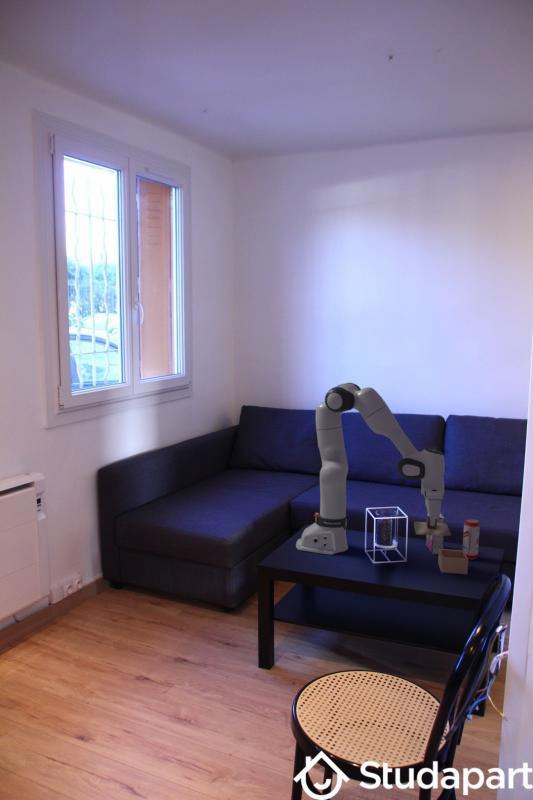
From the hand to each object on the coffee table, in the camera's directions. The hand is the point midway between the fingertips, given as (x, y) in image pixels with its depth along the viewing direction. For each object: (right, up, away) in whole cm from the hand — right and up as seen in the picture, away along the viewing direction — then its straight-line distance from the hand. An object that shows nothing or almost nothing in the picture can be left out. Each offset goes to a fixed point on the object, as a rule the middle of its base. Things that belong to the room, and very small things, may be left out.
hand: (431, 523), depth 251 cm
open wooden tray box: (+9, -18, +1) cm, 20 cm away
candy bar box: (+7, -16, +22) cm, 28 cm away
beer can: (+20, -17, +14) cm, 30 cm away
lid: (0, -3, 0) cm, 3 cm away
